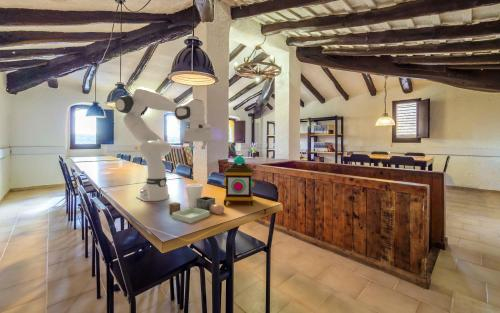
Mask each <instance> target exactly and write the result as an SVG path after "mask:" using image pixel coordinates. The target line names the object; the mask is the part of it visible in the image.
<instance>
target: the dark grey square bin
mask: <svg viewBox="0 0 500 313" xmlns="http://www.w3.org/2000/svg"><path fill="white" fill-rule="evenodd" d="M212 204H216V198H215V197H210V196H203V197H202V196H201V198H198V199H197V207H196V208H198V209H202V210H207V211H210V206H211V205H212Z"/></svg>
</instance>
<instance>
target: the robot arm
mask: <svg viewBox="0 0 500 313" xmlns="http://www.w3.org/2000/svg"><path fill="white" fill-rule="evenodd" d="M114 106H115V108H116V110H117V111H118V112H119V113H122V114H125V115H124V116H123V122H124V125H125V126H126V128H127V129H128V130H129V132H130V133H131V134H132V135H133V137H134V138H135V140H137V141H138V142H140V143H141V144H140V146H139V153H140V155H141V156H143V157H144V159H145V163H146V167H147V178H146V182H145V184H144V185H143V186H142V187H141V188H140V191H139V192H140V194H138V195H136V198H137V199H139V200H141V201H143V202H158V201H165V200H167V199H169V198H170V194H169V188H168V187H169V186H168V184H167V181H168V180H167V174H166V169H167V168H166V165H165V163H164V162H163V159H162V158H163V157H165V156H167V155H169V154H170V153H171V151H172V146H171V143H170V142H167V141H166V140H164V138H162V137H161V136H160V135H158V134H157V133H156V132H154V130H152V128H150V126H149V125H148V124H147V123H146V121H145V120H143V118H142V116H144V115H145V113H146V112H147V110H148V109H152V110H156V111H165V112H171V113H174V116H175V118H176V119H177V120H179V121H182V122H189V126H186V127H185V129H184V137H183V138H184V141H185V142H188V144H189V146H190V148H189V149H191V150H195V145H193V143H194V142H202V146H201V147H200V149H201V150H205V149H206V146H207V144H208V142H211V141H212V140H213V135H212V134H213V133H212V130H211V129H212V125H210V124H207V123H206V122H205V115H206V112H205V111H206V110H205V103H204V101H202V99H201V100H200V99H198V98H191V99H190V100H189V101H186V102H185V103H183V104H179V103H178V102H174V101H172V99H171V100H170V99H169V98H167V97H166V96H164V95H162V94H161V93H159V92H157V91H155V90H152V89H149V88H145V87H137V88H136V89H135V90H134V91H133V94H132V95H130V94H126V95H122V96H118V98H116V100H115V105H114Z"/></svg>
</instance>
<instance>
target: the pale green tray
mask: <svg viewBox="0 0 500 313" xmlns="http://www.w3.org/2000/svg"><path fill="white" fill-rule="evenodd" d="M180 210H181V211H177V212H174V213H172V214H171V218H172V219H174V220H178V221H182V222H185V223H189V224H193V223H195V222H198V221H199V220H203V219H205V218H207V217H208V218H209V217H210V214H211V212H210V211H207V210H202V209H198V208H197V207H195V208H194V207H188V208H185V209H180Z"/></svg>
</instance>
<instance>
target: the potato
mask: <svg viewBox="0 0 500 313" xmlns="http://www.w3.org/2000/svg"><path fill="white" fill-rule="evenodd" d="M224 206H225V205H221V204H216V203H215V204H212V205H211V206H210V214H215V215H221V214H224V213H225V212H224V211H225V207H224Z"/></svg>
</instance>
